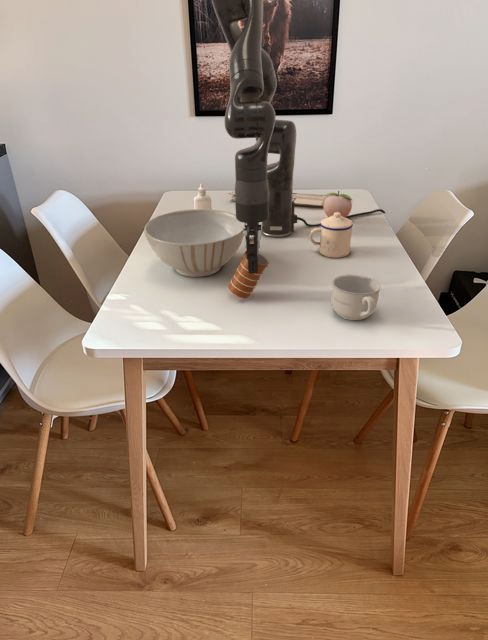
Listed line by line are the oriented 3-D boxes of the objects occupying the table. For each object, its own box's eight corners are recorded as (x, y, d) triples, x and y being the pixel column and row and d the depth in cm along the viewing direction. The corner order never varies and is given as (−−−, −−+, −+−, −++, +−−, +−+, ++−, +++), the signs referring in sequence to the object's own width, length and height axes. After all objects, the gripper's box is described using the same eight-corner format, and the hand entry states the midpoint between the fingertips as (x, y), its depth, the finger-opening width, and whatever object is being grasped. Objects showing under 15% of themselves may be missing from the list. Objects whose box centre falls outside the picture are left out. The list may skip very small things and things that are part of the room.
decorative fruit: (319, 224, 182) (321, 193, 177) (324, 216, 189) (326, 186, 183) (348, 226, 180) (351, 196, 174) (352, 218, 186) (355, 188, 181)
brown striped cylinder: (249, 302, 136) (226, 291, 134) (251, 291, 141) (228, 280, 140) (268, 268, 131) (244, 257, 129) (269, 258, 136) (245, 246, 135)
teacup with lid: (347, 246, 166) (350, 207, 160) (352, 258, 158) (356, 218, 152) (306, 246, 166) (308, 208, 159) (310, 259, 158) (312, 219, 152)
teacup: (325, 304, 135) (327, 273, 130) (369, 302, 135) (373, 271, 131) (338, 333, 123) (341, 301, 119) (386, 331, 124) (391, 298, 119)
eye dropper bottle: (209, 222, 184) (208, 186, 178) (193, 221, 185) (191, 185, 179) (213, 218, 188) (211, 182, 181) (197, 217, 189) (195, 181, 182)
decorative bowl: (209, 298, 138) (207, 252, 132) (128, 274, 150) (122, 231, 144) (264, 260, 157) (264, 218, 151) (188, 242, 169) (185, 203, 163)
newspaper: (329, 199, 204) (329, 190, 202) (325, 210, 194) (325, 200, 192) (235, 194, 211) (235, 184, 209) (226, 204, 201) (226, 194, 199)
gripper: (268, 208, 119) (268, 279, 128) (269, 188, 131) (269, 255, 140) (233, 208, 119) (236, 279, 128) (237, 189, 132) (239, 255, 140)
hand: (253, 266), depth 134 cm, fingers closed on brown striped cylinder, 6 cm apart
